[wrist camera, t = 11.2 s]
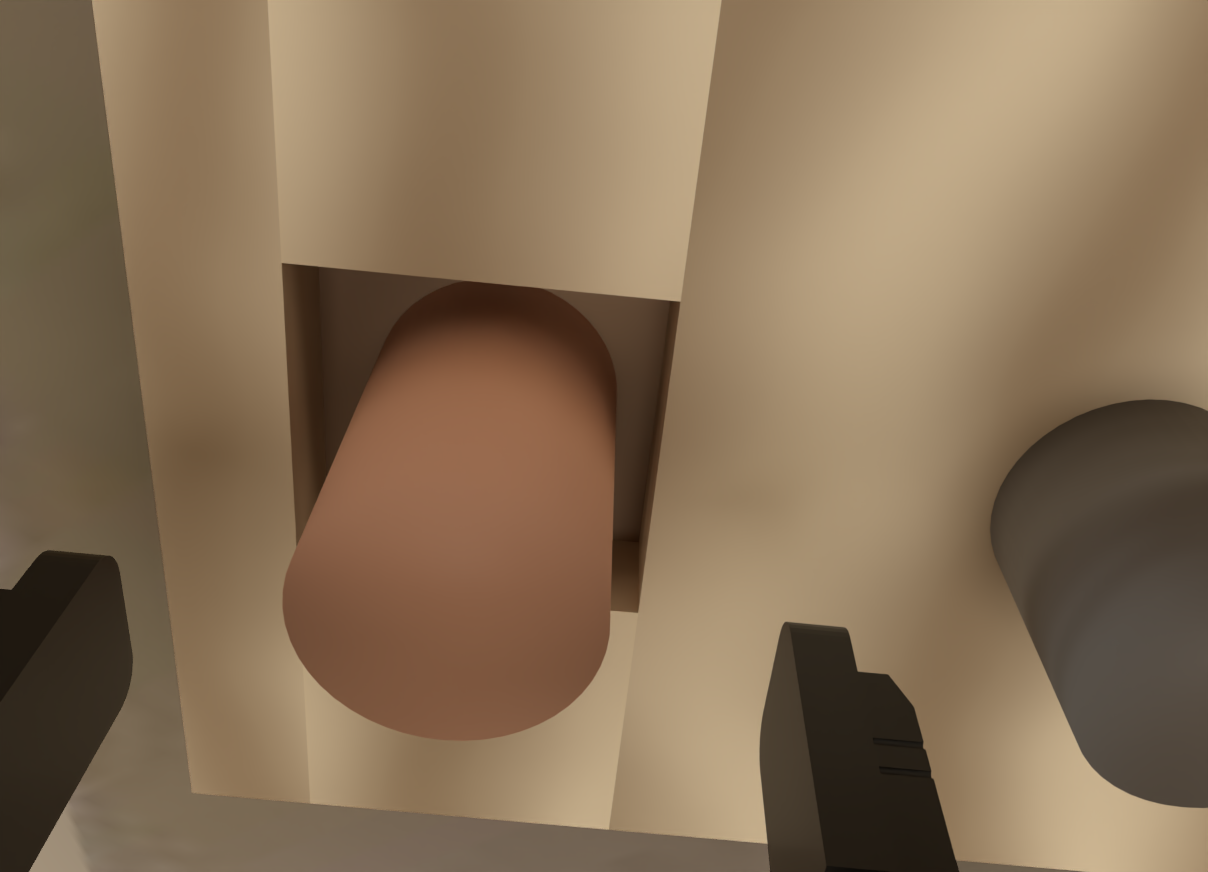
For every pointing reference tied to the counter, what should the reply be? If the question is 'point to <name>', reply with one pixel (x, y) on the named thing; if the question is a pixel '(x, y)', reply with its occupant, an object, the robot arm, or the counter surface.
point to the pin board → (712, 378)
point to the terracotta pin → (466, 521)
